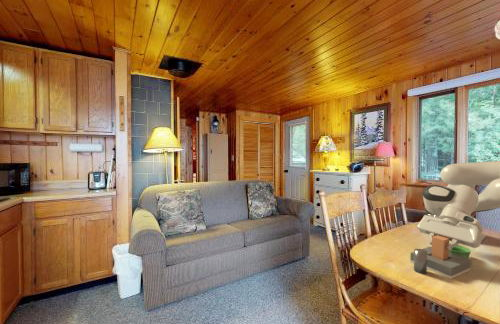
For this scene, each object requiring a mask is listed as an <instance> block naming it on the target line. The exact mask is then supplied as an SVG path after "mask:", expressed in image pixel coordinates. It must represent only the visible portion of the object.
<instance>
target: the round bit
mask: <svg viewBox="0 0 500 324" xmlns="http://www.w3.org/2000/svg"><path fill="white" fill-rule="evenodd" d="M423 249H424V248H414V250H413V252H414V264H413V271H414V272H416V273H417V274H422V275H427V274H428V269H427V251H425V250H423Z"/></svg>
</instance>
